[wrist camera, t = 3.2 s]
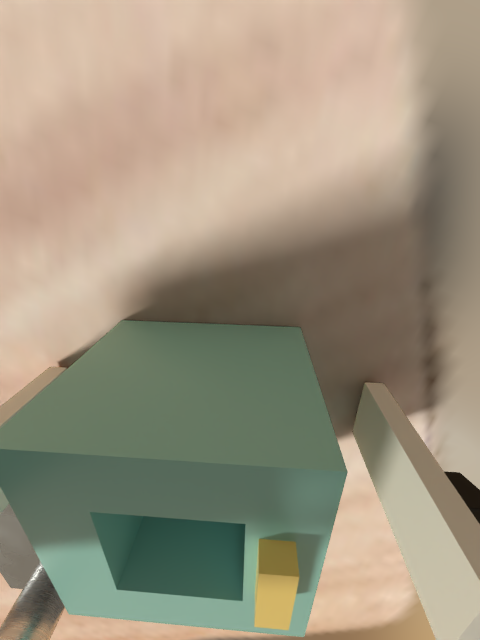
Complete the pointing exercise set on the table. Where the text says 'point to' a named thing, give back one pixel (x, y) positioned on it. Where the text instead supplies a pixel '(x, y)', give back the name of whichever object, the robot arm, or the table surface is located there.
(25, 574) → the shaft base
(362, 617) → the table surface
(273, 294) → the table surface
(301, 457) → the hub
